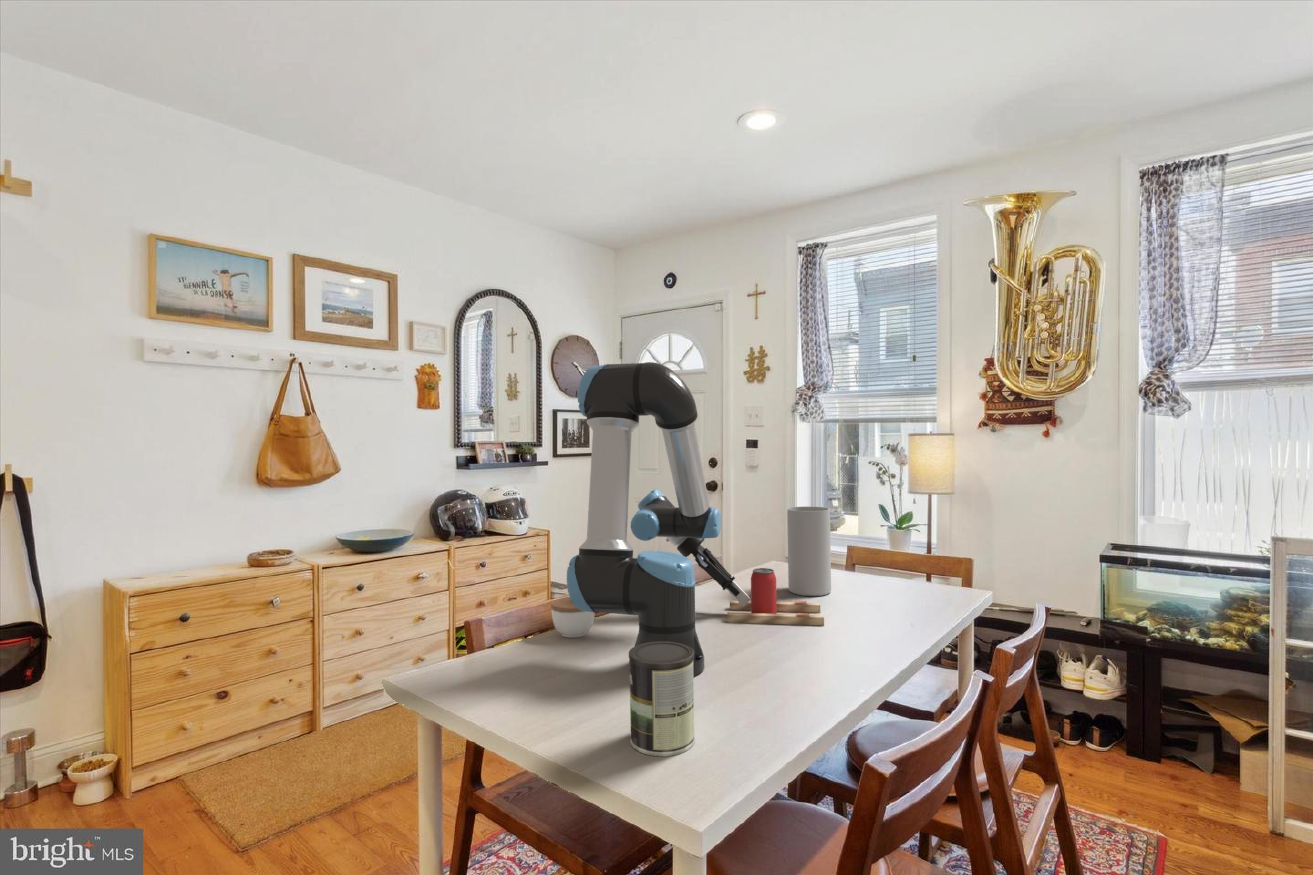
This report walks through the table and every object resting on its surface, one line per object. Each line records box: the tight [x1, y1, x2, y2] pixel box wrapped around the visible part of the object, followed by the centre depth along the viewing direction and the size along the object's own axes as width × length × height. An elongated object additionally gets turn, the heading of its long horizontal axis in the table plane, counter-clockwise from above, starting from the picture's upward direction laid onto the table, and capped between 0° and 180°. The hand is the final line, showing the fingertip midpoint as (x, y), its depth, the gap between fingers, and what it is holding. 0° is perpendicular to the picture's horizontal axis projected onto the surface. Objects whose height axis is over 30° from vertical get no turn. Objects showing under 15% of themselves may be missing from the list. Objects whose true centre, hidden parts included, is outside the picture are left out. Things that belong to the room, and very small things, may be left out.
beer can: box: [750, 567, 778, 614], centre depth 168 cm, size 7×7×12 cm
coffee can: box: [628, 641, 696, 757], centre depth 100 cm, size 10×10×14 cm
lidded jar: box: [550, 596, 596, 638], centre depth 155 cm, size 11×11×9 cm
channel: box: [726, 600, 825, 627], centre depth 167 cm, size 24×14×2 cm, turn 80°
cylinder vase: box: [786, 506, 832, 597], centre depth 192 cm, size 12×12×25 cm
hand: (747, 602), depth 170 cm, fingers closed
